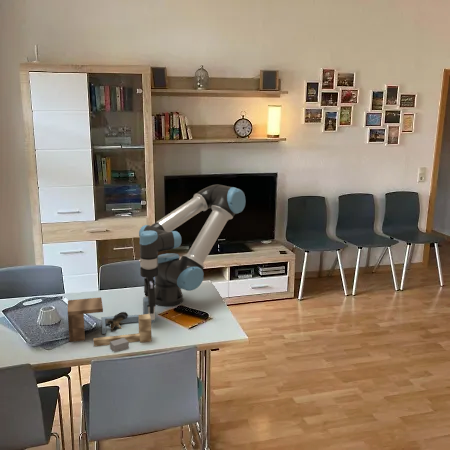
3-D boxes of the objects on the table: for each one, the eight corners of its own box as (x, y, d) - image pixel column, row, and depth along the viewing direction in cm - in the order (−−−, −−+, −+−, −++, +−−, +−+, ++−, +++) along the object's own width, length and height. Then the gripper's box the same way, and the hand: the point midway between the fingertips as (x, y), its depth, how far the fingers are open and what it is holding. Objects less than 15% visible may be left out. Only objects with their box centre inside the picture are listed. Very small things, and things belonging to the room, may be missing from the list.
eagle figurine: (123, 330, 206) (132, 318, 214) (113, 317, 205) (122, 305, 213) (110, 337, 210) (119, 324, 217) (100, 324, 208) (110, 312, 216)
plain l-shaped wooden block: (149, 336, 205) (149, 313, 202) (151, 341, 200) (151, 318, 198) (93, 342, 198) (92, 319, 196) (94, 347, 194) (92, 324, 192)
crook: (153, 317, 222) (153, 296, 219) (156, 329, 210) (157, 308, 208) (101, 321, 216) (101, 299, 213) (102, 333, 204) (101, 311, 202)
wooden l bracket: (102, 325, 213) (101, 297, 210) (104, 338, 202) (102, 308, 199) (69, 328, 209) (67, 300, 206) (69, 342, 198) (67, 311, 195)
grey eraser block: (124, 344, 198) (124, 337, 197) (128, 348, 195) (128, 341, 194) (110, 348, 194) (109, 341, 193) (114, 352, 191) (114, 345, 190)
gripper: (137, 259, 223) (138, 305, 228) (143, 276, 202) (144, 326, 207) (153, 258, 225) (154, 303, 230) (162, 274, 204) (162, 324, 209)
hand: (149, 314), depth 219 cm, fingers open, 10 cm apart
